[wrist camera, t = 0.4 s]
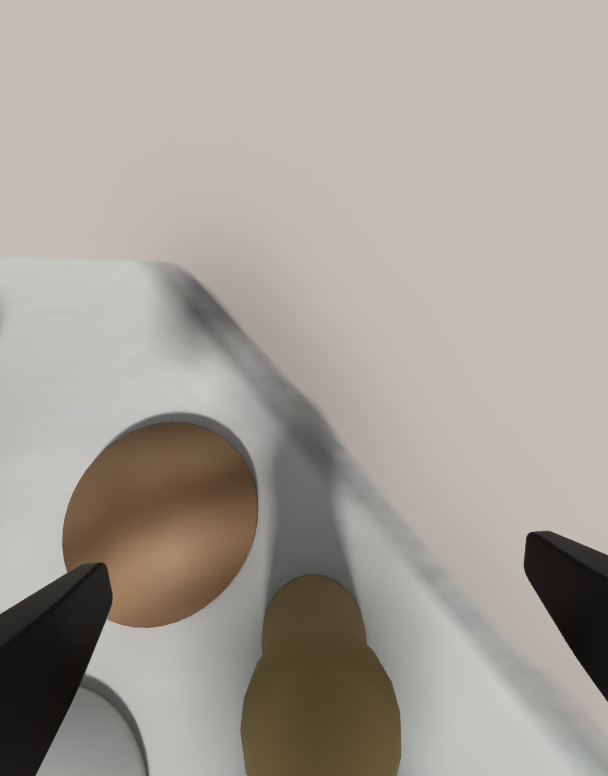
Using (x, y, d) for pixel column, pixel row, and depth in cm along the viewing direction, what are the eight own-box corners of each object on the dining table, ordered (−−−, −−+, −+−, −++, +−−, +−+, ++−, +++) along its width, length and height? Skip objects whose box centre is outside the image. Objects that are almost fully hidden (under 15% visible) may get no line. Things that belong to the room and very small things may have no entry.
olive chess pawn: (241, 626, 20) (174, 735, 10) (317, 552, 21) (329, 579, 11) (308, 727, 18) (313, 988, 8) (386, 639, 20) (475, 764, 9)
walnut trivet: (292, 545, 22) (291, 546, 21) (112, 670, 19) (102, 678, 18) (207, 396, 25) (204, 391, 24) (48, 485, 23) (37, 484, 22)
